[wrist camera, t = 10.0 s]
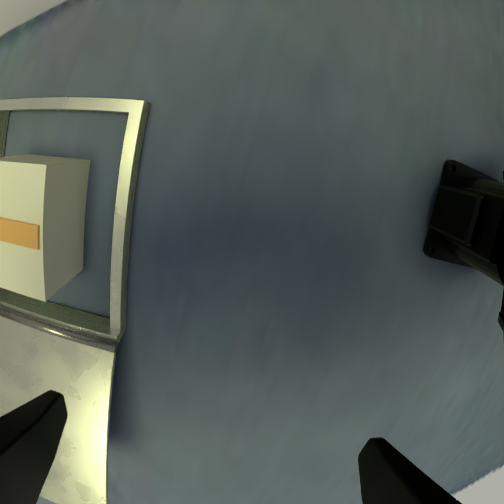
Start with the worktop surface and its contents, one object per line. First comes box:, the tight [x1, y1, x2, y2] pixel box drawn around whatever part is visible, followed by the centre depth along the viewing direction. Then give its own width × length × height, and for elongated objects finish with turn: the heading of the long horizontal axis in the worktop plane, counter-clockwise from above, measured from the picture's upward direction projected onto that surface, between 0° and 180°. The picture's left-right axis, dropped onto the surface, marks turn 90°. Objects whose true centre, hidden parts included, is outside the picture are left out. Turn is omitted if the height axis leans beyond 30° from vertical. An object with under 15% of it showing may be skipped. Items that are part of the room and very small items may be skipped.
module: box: [0, 154, 91, 302], centre depth 15 cm, size 5×7×5 cm
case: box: [0, 97, 150, 504], centre depth 15 cm, size 11×27×9 cm, turn 169°
